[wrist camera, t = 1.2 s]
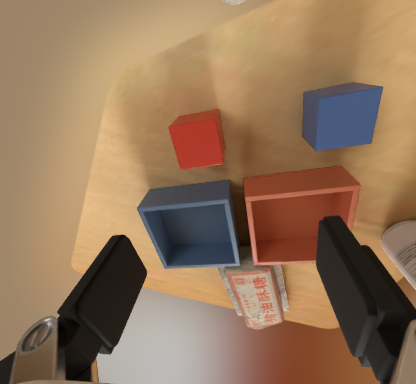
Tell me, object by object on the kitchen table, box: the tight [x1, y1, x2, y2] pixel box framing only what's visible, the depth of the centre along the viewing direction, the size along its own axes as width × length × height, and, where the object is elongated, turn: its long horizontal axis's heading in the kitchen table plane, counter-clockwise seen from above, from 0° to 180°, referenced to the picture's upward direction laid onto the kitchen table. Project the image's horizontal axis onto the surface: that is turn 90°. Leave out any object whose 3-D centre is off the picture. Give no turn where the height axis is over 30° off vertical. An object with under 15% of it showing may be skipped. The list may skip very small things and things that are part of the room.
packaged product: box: [217, 245, 289, 329], centre depth 34 cm, size 18×5×10 cm
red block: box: [169, 109, 225, 170], centre depth 22 cm, size 4×4×4 cm
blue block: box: [302, 82, 383, 151], centre depth 19 cm, size 4×4×4 cm
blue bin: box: [137, 180, 240, 269], centre depth 28 cm, size 11×11×4 cm
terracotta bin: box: [244, 166, 361, 265], centre depth 26 cm, size 11×11×4 cm
